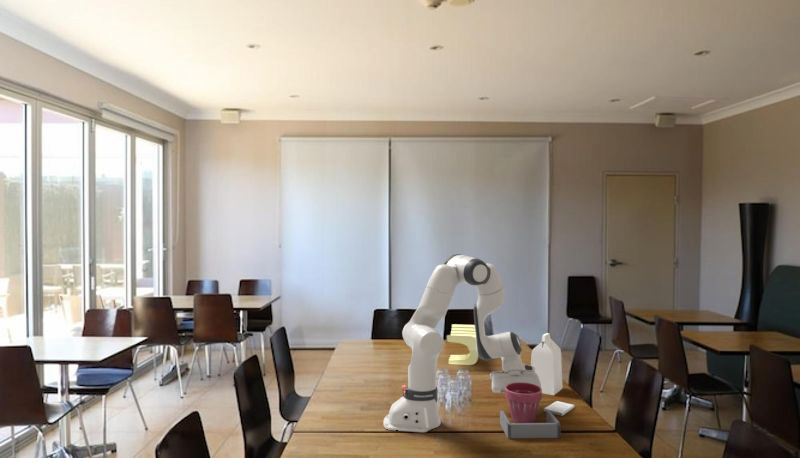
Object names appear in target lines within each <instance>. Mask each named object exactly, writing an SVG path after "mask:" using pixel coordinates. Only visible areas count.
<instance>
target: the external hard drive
mask: <svg viewBox="0 0 800 458" xmlns="http://www.w3.org/2000/svg"><path fill="white" fill-rule="evenodd" d="M574 408H575V404H572V403H568V402H563V401H558V400H556V401H554V402H553V403H550V405H548V406H546V407H543V412H546V410H550V411H551V413H552V414H553V415H557V416H561V417H562V416H564V415H566V414H567V413H570V411H572V410H573V409H574Z"/></svg>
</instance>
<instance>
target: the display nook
mask: <svg viewBox="0 0 800 458" xmlns="http://www.w3.org/2000/svg"><path fill="white" fill-rule="evenodd" d="M545 415H546V418H545V419H546V421H545V422H533V423H517V422H514V423H513V422H512V423H511V422H510V421H509V419H508V416H507V414H506V413H505V412H504V410H499V425H500V426H501V428H502V430H503V432H504V434H505V436H506V437H507V439H559V438H560V439H561V438H562V424H561V423H560V421H559V420H558V419H557V417H555V414H553V413H551V411H550V410H546V413H545Z"/></svg>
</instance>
